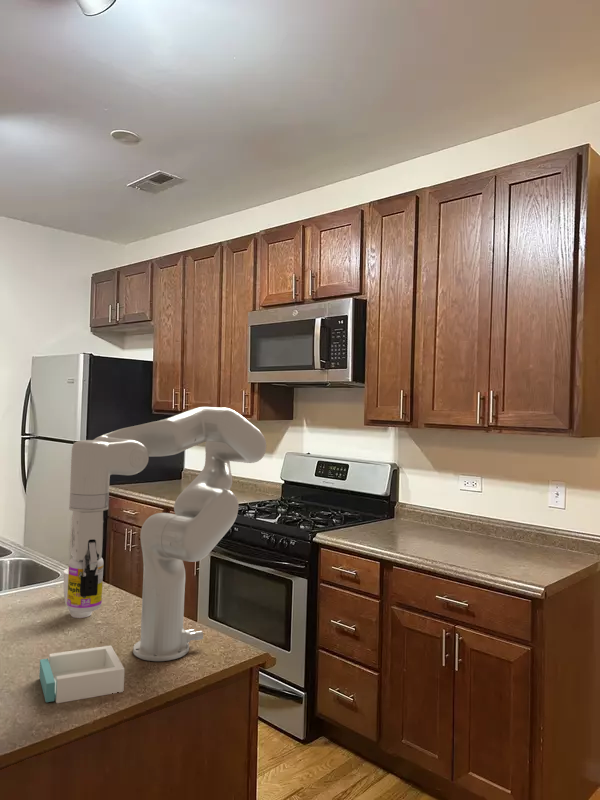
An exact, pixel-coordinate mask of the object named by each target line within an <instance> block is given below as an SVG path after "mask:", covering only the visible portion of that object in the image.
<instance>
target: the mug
mask: <svg viewBox="0 0 600 800" xmlns="http://www.w3.org/2000/svg"><path fill="white" fill-rule="evenodd" d="M68 573H69V567H68V568H66V569H63V598H64V602H65V605H66V606H67V593H68ZM67 610H68V612H69V614H70V616H71V617H72V618H75V619H82V618H83V619H84V618H87V617H90V616H91V615H92V613H93V611H91V612H83V613H80V612H73V611H70V610H69V609H68V608H67Z"/></svg>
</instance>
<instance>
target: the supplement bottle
mask: <svg viewBox="0 0 600 800" xmlns="http://www.w3.org/2000/svg"><path fill="white" fill-rule="evenodd" d="M85 559H89V557H85ZM97 562H98V591H97V595H94V596H84V597H82V596H81V595H80V583H81V576H83V574H82V560H80V561H79V562H76V561H75V560H74V558H73V557H71V558H70V559H69V561H68V568H69V573H68V593H67V605H66V607H67V608H66V609H67V610H68V609H69V610H70V611H73V612H80V613H83V612H91V611H92V612H94V611H97V610H98V609H100V608H101V606H102V602H103V580H104V578H103V576H104V559H103V557H102V556H101V559H100V560H98V561H97ZM88 564H89V563H87V564H86V566H87V565H88ZM69 610H68V611H69Z"/></svg>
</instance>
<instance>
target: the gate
mask: <svg viewBox="0 0 600 800" xmlns="http://www.w3.org/2000/svg"><path fill="white" fill-rule="evenodd" d="M38 674H39V675H38V676H39V681H40V686H41V689H42V692H43V696H44V701H45V703H49V702H54V701H55V680H54V677H53V674H52V670H51V667H50V664H49V658H42V659H39V673H38Z"/></svg>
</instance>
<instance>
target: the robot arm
mask: <svg viewBox="0 0 600 800" xmlns="http://www.w3.org/2000/svg"><path fill="white" fill-rule="evenodd" d="M203 443H204V444H205V447H204V448H205V460H204V462H205V463H204V466H203V469H202V470H201V471H200V472H199V474H198V475H197V476H196V477H195V478H194V479H193V480H192V481H191V482H190V483H189V484H188V485H187V486H186V487H185V488H184V489H183V490H182V491H181V493H179V494H178V496H177V497H176V500H175V501H174V505H173V511H174V513H169V512H157V513H154V514H152V515H150V516H148V518H146V519H145V521H144V522H143V524H142V526H141V528H140V537H139V538H140V547H141V551H142V561H143V575H142V576H143V577H142V579H143V580H142V598H141V619H140V621H141V622H140V623H141V624H140V640H139V641H137V642H136V643H134V645H133V647H132V650H133V651H132V653H133V655H134V656H135V657H137V658H139V659H141V660H143V661H147V662H150V661H151V662H165V661H167V662H168V661H172V660H173V661H174V660H176V659H179V658H182V657H184V656H185V655H186V654H188V652H189V651H190V644H189V643H190V642H191V641H200V640H203V639H204V632H203V630H199V631H197V630H196V631H195V629H194V628H192V629H185V628H184V613H185V593H186V591H185V588H186V569H185V565H184V562H190V563H191V562H193V563H194V562H199V561H201V560H203V559H204V558H206V557H207V556H208V555H209V554H211V552H212V550H213V549H214V548H215V547H216V546H217V545H218V543H219V542H220V541H221V540H222V539H223V537H225V535H226V534H227V533H228V532H229V530H230V529H231V528H232V527H233V525H234V523H235V522H236V519H237V517H238V513H239V506H240V505H239V501H238V500H239V499H238V497H237V496H236V495H235V493H234V492H233V491H231V488H232V485H233V475H232V471H231V463H230V462H234V463H235V462H236V463H244V464H255V463H257V462H259V461H261V460H262V459H263V457H264V456H265V454H266V451H267V440H266V437H265V436H264V434H263V433H262V432H261V430H260V429H259V428H258V427H256V426H255V425H254V424H252V423H251V422H250V421H249V420H247V418H245V417H244V416H243V415H242V414H240V413H239V412H237V411H235V410H234V409H232V408H229V407H218V406H216V407H215V406H198V407H195V408H192V409H189V410H186V411H183V412H180V413H177V414H175V415H172V416H170V417H167V418H164V419H160V420H157V421H156V420H155V421H151V422H147V423H142V424H138V425H134V426H133V425H132V426H128V427H123V428H119V429H116V430H114V431H113V430H112V431H111V432H108V433H104V434H102V435H100V436H97V437H95V438H94V439H85V440H83V439H82V440H78V441H75V442H74V443H73V444H72V446H71V457H70V458H71V459H70V463H71V464H70V485H69V486H70V488H69V506H68V510H70V511H72V518H71V527H70V529H71V531H70V532H71V533H70V542H69V553H70V555H71V556H72V557H73V558H74V560H75V561H76V562H79V561H80V560H82V574H83V576H81V583H80V595H81V596H82V597H84V596H94V595H97V591H98V562H97V561H98V560H100V559H101V557H102V556H103V541H104V540H103V539H104V511H107V510H109V503H110V502H109V501H110V500H109V498H110V496H109V495H110V480H111V478H110V477H111V476H112V475H120V476H133V475H137V474H138V473H141V472H142V471H144V469H146V467H147V465H148V463H149V457H150V458H151V457H153V458H154V457H168V456H174V455H177V454H180V453H182V452H184V451H186V450H189V449H191V448H193V447H196V446H198V445H201V444H203ZM72 557H71V558H72ZM85 557H89V559H85ZM87 563H89V564H88V565H87V566H86V564H87Z"/></svg>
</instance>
